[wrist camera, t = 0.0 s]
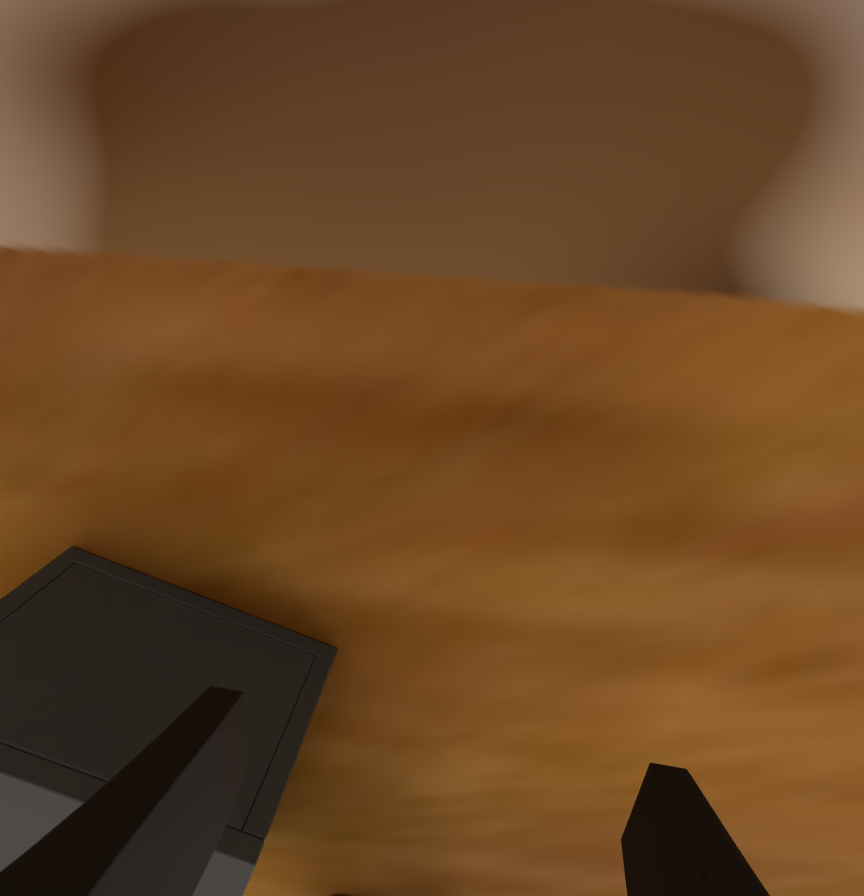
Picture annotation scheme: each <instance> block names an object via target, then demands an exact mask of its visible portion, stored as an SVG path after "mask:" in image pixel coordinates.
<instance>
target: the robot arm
mask: <svg viewBox="0 0 864 896" xmlns="http://www.w3.org/2000/svg"><path fill="white" fill-rule="evenodd" d="M246 771H247V770H246V742H245V714H244V692H243V691H237V690H231V689H226V688H220V687H214V686H210V687H209V688H207V689H206V690H205V691H204V692H203V693H202V694H201V695H200V696H198V697H197V698H196V699H195V700H194V701H193V702H192V703H191V704H190V705H189V706H188V707H187V708H186V709H185V710H184V711H183V712H182V713H181V714H180V715H179V716H178V717H177V718H176V719H175V720H174V721H173V722H172V723H171V724H170V725H169V726H168V727H166V728H165V729H164V730H163V731H162V732H161V733H160V734H159V735H158V736H157V737H156V738H155V739H154V740H153V741H152V742H151V743H150V744H148V745H147V746H146V747H145V748H144V749H143V750H142V751H141V752H140V753H139V754H138V755H137V756H136V757H134V758H133V759H132V760H131V761H130V762H129V763H128V764H127V765H126V766H124V767H123V768H122V769H121V770H120V771H119V772H118V773H117V774H116V775H114V776H113V777H112V778H111V779H110V780H109V781H108V782H107V783H106V784H105V785H103V786H102V787H101V788H100V789H99V790H98V791H97V792H96V793H94V794H93V795H92V796H91V797H90V798H89V799H88V800H86V801H85V802H84V803H83V804H82V805H81V806H80V807H78V808H77V809H76V810H75V811H74V812H72V813H71V814H70V815H69V816H68V817H66V818H65V819H64V820H63V821H62V822H60V823H59V824H58V825H57V826H56V827H54V828H53V829H52V830H51V831H50V832H48V833H47V834H46V835H45V836H44V837H43V838H41V839H40V840H39V841H38V842H37V843H35V844H34V845H33V846H32V847H31V848H29V849H28V850H27V851H26V852H24V853H23V854H22V855H21V856H20V857H18V858H17V859H16V860H14V861H13V862H12V863H11V864H9V865H8V866H7V867H6V868H4V869H3V870H2V871H1V872H0V896H193V894H194V892H195V890H196V888H197V886H198V884H199V881H200V879H201V877H202V875H203V873H204V871H205V869H206V867H207V865H208V863H209V861H210V859H211V857H212V855H213V853H214V851H215V849H216V847H217V844H218V842H219V840H220V838H221V836H222V834H223V831H224V829H225V826H226V824H227V821H228V819H229V816H230V813H231V811H232V808H233V806H234V803H235V800H236V798H237V795H238V792H239V789H240V787H241V784H242V781H243V779H244V776H245V773H246ZM621 843H622V852H623V861H624V870H625V879H626V887H627V895H628V896H770V895H769V894H768V892H767V891H766V889H765V888H764V886H763V885H762V883H761V882H760V880H759V879H758V877H757V876H756V874H755V873H754V871H753V870H752V868H751V867H750V865H749V864H748V862H747V861H746V859H745V858H744V856H743V855H742V853H741V852H740V850H739V849H738V847H737V846H736V844H735V843H734V841H733V840H732V838H731V836H730V835H729V833H728V832H727V830H726V829H725V827H724V826H723V824H722V823H721V821H720V820H719V818H718V816H717V815H716V813H715V812H714V810H713V809H712V807H711V806H710V804H709V802H708V801H707V799H706V798H705V796H704V795H703V793H702V792H701V790H700V788H699V787H698V785H697V784H696V782H695V781H694V779H693V778H692V776H691V775H690V773H689V772H688V771H687V769H684V768H678V767H672V766H666V765H661V764H655V763H650V764H649V767H648V770H647V772H646V775H645V777H644V780H643V783H642V785H641V788H640V791H639V793H638V796H637V799H636V801H635V804H634V807H633V809H632V812H631V814H630V817H629V820H628V822H627V825H626V828H625V830H624V833H623V836H622V838H621Z"/></svg>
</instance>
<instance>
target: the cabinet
mask: <svg viewBox="0 0 864 896" xmlns="http://www.w3.org/2000/svg"><path fill="white" fill-rule="evenodd" d="M336 652H337V649H336V648H334V647H332V646H329V645H327V644H324V643H321V642H319V641H316V640H314V639H311V638H308V637H306V636H303V635H301V634H298V633H295V632H293V631H290V630H287V629H285V628H282V627H280V626H277V625H274V624H272V623H269V622H267V621H264V620H261V619H259V618H256V617H254V616H251V615H248V614H246V613H243V612H241V611H238V610H235V609H233V608H230V607H228V606H225V605H222V604H220V603H217V602H215V601H212V600H209V599H207V598H204V597H202V596H199V595H196V594H194V593H191V592H189V591H186V590H183V589H181V588H178V587H176V586H173V585H170V584H168V583H165V582H163V581H160V580H157V579H155V578H152V577H150V576H147V575H144V574H142V573H139V572H137V571H134V570H131V569H129V568H126V567H124V566H121V565H118V564H116V563H113V562H111V561H108V560H105V559H103V558H100V557H98V556H95V555H92V554H90V553H87V552H85V551H82V550H79V549H77V548H74V547H70V548H69V549H68V550H66V551H65V552H63V553H62V554H61V555H60V556H59V557H57V558H55V559H54V560H53V561H51V562H50V563H49V564H47V565H46V566H45V567H43V568H42V569H41V570H39V571H38V572H37V573H35V574H34V575H33V576H31V577H30V578H29V579H27V580H26V581H25V582H23V583H22V584H21V585H19V586H18V587H17V588H15V589H14V590H13V591H11V592H10V593H9V594H7V595H6V596H5V597H3V598H2V599H1V600H0V872H1V871H2V870H3V869H4V868H6V867H7V866H8V865H9V864H11V863H12V862H13V861H14V860H16V859H17V858H18V857H20V856H21V855H22V854H23V853H24V852H26V851H27V850H28V849H29V848H31V847H32V846H33V845H34V844H35V843H37V842H38V841H39V840H40V839H41V838H43V837H44V836H45V835H46V834H47V833H48V832H50V831H51V830H52V829H53V828H54V827H56V826H57V825H58V824H59V823H60V822H62V821H63V820H64V819H65V818H66V817H68V816H69V815H70V814H71V813H72V812H74V811H75V810H76V809H77V808H78V807H80V806H81V805H82V804H83V803H84V802H85V801H86V800H88V799H89V798H90V797H91V796H92V795H93V794H94V793H96V792H97V791H98V790H99V789H100V788H101V787H102V786H103V785H105V784H106V783H107V782H108V781H109V780H110V779H111V778H112V777H113V776H114V775H116V774H117V773H118V772H119V771H120V770H121V769H122V768H123V767H124V766H126V765H127V764H128V763H129V762H130V761H131V760H132V759H133V758H134V757H136V756H137V755H138V754H139V753H140V752H141V751H142V750H143V749H144V748H145V747H146V746H147V745H148V744H150V743H151V742H152V741H153V740H154V739H155V738H156V737H157V736H158V735H159V734H160V733H161V732H162V731H163V730H164V729H165V728H166V727H168V726H169V725H170V724H171V723H172V722H173V721H174V720H175V719H176V718H177V717H178V716H179V715H180V714H181V713H182V712H183V711H184V710H185V709H186V708H187V707H188V706H189V705H190V704H191V703H192V702H193V701H194V700H195V699H196V698H197V697H198V696H200V695H201V694H202V693H203V692H204V691H205V690H206V689H207V688H209V687H210V686H214V687H220V688H226V689H231V690H237V691H243V692H244V714H245V742H246V770H247V771H246V773H245V776H244V779H243V781H242V784H241V787H240V789H239V792H238V795H237V798H236V800H235V803H234V806H233V808H232V811H231V813H230V816H229V819H228V821H227V824H226V826H225V829H224V831H223V834H222V836H221V838H220V840H219V842H218V844H217V847H216V849H215V851H214V853H213V855H212V857H211V859H210V861H209V863H208V865H207V867H206V869H205V871H204V873H203V875H202V877H201V879H200V881H199V884H198V886H197V888H196V890H195V892H194V894H193V896H243V894H244V892H245V889H246V887H247V885H248V882H249V880H250V878H251V875H252V873H253V870H254V868H255V866H256V863H257V861H258V858H259V855H260V853H261V850H262V847H263V845H264V842H265V839H266V837H267V834H268V832H269V829H270V826H271V824H272V821H273V818H274V816H275V813H276V810H277V808H278V805H279V803H280V800H281V797H282V795H283V792H284V789H285V787H286V784H287V781H288V779H289V776H290V773H291V771H292V768H293V766H294V763H295V760H296V758H297V755H298V752H299V750H300V747H301V744H302V742H303V739H304V736H305V734H306V731H307V729H308V726H309V723H310V721H311V718H312V715H313V713H314V710H315V707H316V705H317V702H318V700H319V697H320V694H321V692H322V689H323V686H324V684H325V681H326V678H327V676H328V673H329V670H330V668H331V665H332V662H333V660H334V657H335V655H336Z"/></svg>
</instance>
